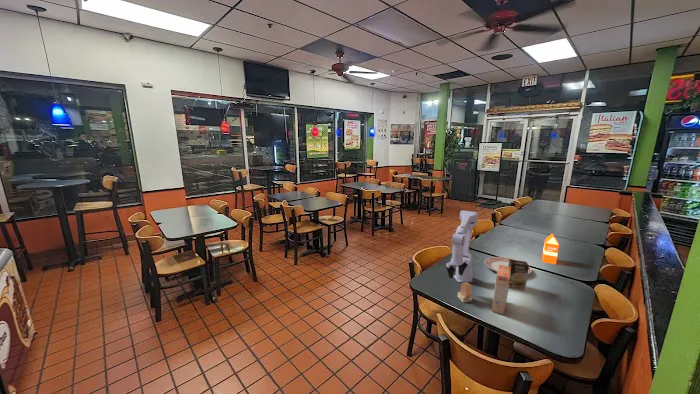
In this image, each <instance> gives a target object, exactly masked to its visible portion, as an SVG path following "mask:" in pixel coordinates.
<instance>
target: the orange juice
mask: <svg viewBox="0 0 700 394" xmlns="http://www.w3.org/2000/svg"><path fill="white" fill-rule="evenodd" d="M559 248H560V244H559V241H558V240H557V238H556V237H555V234H553V233H551V234H550V235H548V236H547V237H546V238H544V244H543V250H542V257H541V259H542V263H546V264H552V265H556V264H557V259H558V254H559Z"/></svg>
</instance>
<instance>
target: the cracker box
mask: <svg viewBox="0 0 700 394" xmlns="http://www.w3.org/2000/svg"><path fill="white" fill-rule="evenodd" d="M510 273H511V267H508V266H503V265H499V268H498V272H496V277H495V285H494V292H493V299H492V308H491V312H494V313H497V314H499V315H502V316H504V315H505V310H506V305H507V299H508V293H509V289H510V288H509V281H510Z"/></svg>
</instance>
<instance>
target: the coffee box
mask: <svg viewBox="0 0 700 394" xmlns="http://www.w3.org/2000/svg"><path fill="white" fill-rule="evenodd" d="M511 259H512V258H511ZM511 259H509V264H508V267H511V273H510V281H509V288H508V289H512V290H519V291H526V286H527V281H528V275H529V274H528V269H529V267H530V264H529V263H528V262H527V261H524V260H517V259H515V260H511Z"/></svg>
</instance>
